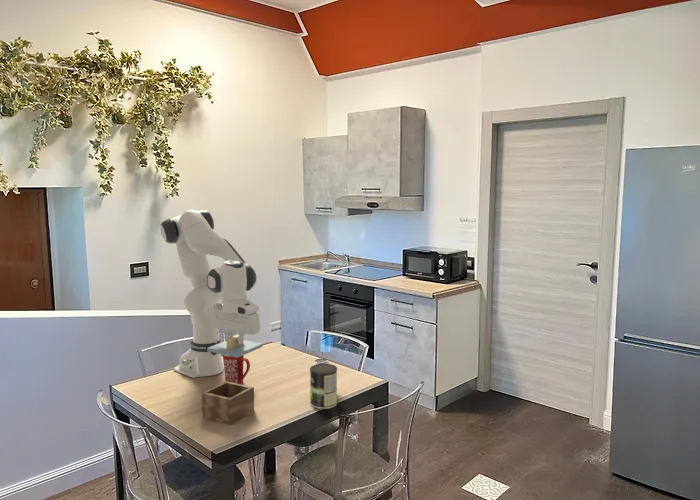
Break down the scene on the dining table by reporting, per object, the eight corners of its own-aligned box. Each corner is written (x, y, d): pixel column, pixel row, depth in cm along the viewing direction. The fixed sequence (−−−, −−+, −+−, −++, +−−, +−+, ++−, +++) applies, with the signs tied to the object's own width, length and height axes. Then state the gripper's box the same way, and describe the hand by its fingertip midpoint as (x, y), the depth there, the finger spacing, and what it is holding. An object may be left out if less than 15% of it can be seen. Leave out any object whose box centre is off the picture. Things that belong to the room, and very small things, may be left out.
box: (202, 417, 189) (201, 393, 188) (226, 403, 201) (226, 381, 200) (230, 424, 183) (230, 399, 182) (254, 410, 195) (253, 387, 194)
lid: (207, 353, 190) (206, 338, 189) (233, 343, 202) (232, 329, 201) (237, 360, 183) (237, 344, 183) (262, 349, 196) (262, 334, 195)
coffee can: (310, 409, 196) (310, 373, 194) (310, 398, 206) (309, 363, 204) (338, 408, 196) (337, 372, 195) (336, 397, 207) (336, 363, 205)
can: (327, 392, 212) (327, 363, 210) (312, 391, 213) (311, 362, 211) (331, 386, 218) (331, 358, 216) (316, 385, 219) (316, 357, 218)
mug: (218, 384, 220) (217, 353, 218) (233, 378, 228) (232, 347, 226) (241, 390, 213) (240, 358, 212) (256, 383, 221) (255, 352, 220)
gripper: (206, 303, 193) (207, 340, 194) (251, 310, 183) (251, 349, 185) (218, 300, 198) (219, 336, 200) (262, 307, 189) (262, 344, 190)
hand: (235, 342), depth 192 cm, fingers closed on lid
